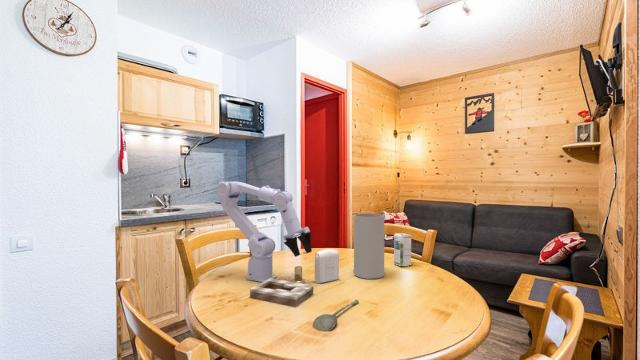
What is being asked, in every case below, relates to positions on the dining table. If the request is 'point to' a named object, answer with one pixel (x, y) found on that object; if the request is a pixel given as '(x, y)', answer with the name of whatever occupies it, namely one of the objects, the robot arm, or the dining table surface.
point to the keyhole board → (278, 299)
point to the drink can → (402, 249)
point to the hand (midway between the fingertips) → (303, 254)
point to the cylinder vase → (369, 245)
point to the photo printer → (326, 265)
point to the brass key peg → (298, 275)
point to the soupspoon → (328, 320)
